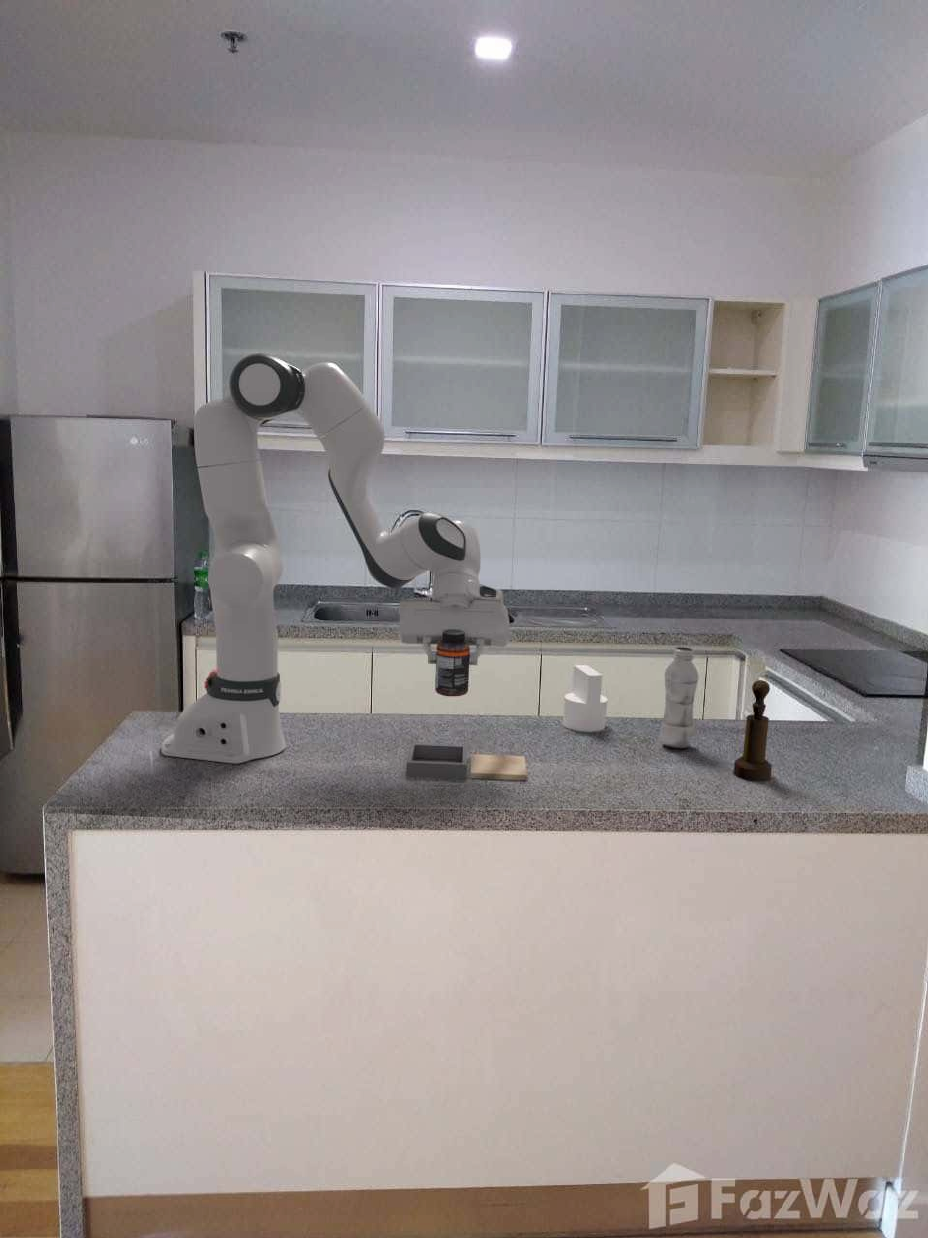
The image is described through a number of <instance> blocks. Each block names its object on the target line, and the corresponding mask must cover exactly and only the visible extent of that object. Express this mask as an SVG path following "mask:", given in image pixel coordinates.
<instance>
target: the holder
mask: <svg viewBox="0 0 928 1238" xmlns="http://www.w3.org/2000/svg"><path fill="white" fill-rule="evenodd" d="M415 759H438V760H439V759H440V760H460V761H461V760H462V762H444V761H442V762H441V761H440V762H439V761H419V760H418V761H417V760H415ZM467 764H468V745H461V744H459V745H458V744H439V743H438V744H437V743H435V744H434V743H419V742H418V743H416V742H415V743H413V742H410V744H409V750H408V753H407V758H406V766H405V768H406V769H405V771H406V772H405V776H406V775H407V776H406V777H424V778H425V777H426V778H445V779H446V778H448V779H451V778H452V779H467V768H468V767H467V766H468V765H467Z"/></svg>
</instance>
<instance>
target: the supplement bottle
mask: <svg viewBox="0 0 928 1238" xmlns="http://www.w3.org/2000/svg"><path fill="white" fill-rule="evenodd" d="M442 638H443V639H442V640H441V642H440V643H438V645H436V651H437V652H436V664H435V677H434V679H435V680H434V682H435V685H434V687H435V689H434V690H435V692H436V693H437V694H439V695H441V696H444V697H450V698H451V697H462V696H465V695H467V693H468V692H469V683H470V682H469V677H470V665H469V658H470V651H471V646H469V645H468V644H467V643H466V642H465V640H464V639H465V632H464V631H462V630H456V629H447V630H444V631H443V635H442Z"/></svg>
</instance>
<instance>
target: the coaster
mask: <svg viewBox="0 0 928 1238" xmlns="http://www.w3.org/2000/svg"><path fill="white" fill-rule="evenodd" d="M469 761H470V765H469V766H470V769H469V773H470V774H469V775H470V777H469V778H470V779H482V780H483V779H484V780H508V781H528V773H527V763H526V760H525V756H524V755H523V756H521V755H503V754H502V755H501V754H499V755H498V754H479V753H471V754H470V760H469Z"/></svg>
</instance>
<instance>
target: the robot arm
mask: <svg viewBox="0 0 928 1238" xmlns="http://www.w3.org/2000/svg"><path fill="white" fill-rule="evenodd" d="M228 384H229V394H228V395H227V396H225V397H224V398H221V399H215V400H211V401H208V402H206V403H204V404H203V405H202V406H200V407H199V408H198V409H197V411H196V413H195V415H194V421H193V423H194V426H193V437H194V439H193V440H194V451H195V461H196V466H197V472H198V478H199V484H200V489H201V495H202V501H203V506H204V507H203V508H204V513H205V514H206V516H207V519H208V521H209V523H210V526H211V529H212V531H213V534H214V537H215V540H216V544H217V548H218V553H216V555H215V556H214V557H213V558H212V561H211V562H210V565H209V568H208V572H207V573H208V575H207V582H208V587H209V590H210V601H211V608H212V613H213V614H212V615H213V620H214V626H215V627H214V628H215V642H216V643H215V644H216V646H215V647H216V650H215V651H216V669H213V670H212V671H210V672H209V674H208V676H207V677H206V679H205V681H204V689H205V690H206V691H205V692H206V693H205V694H203V695H202V696H201V697H198V699H196V700H195V701H194V702H193V703H191V704H190V705H188V707H186V708H185V709H184V710H182V711H181V713H180V714H179V715H178V717H177V719H176V722H175V727H174V732H173V733H171V734H170V735H168V736H167V737H166V738H165V739H164V740H163V741H162V743H161V749H160V751H161V754H162V755H164V756H167V757H176V758H182V759H192V760H193V759H194V760H200V761H201V760H202V761H210V762H219V763H227V764H242V763H245V762H249V761H252V760H256V759H262V758H267V757H271V756H274V755H277V754H279V753H281V752H282V751H284V750H285V748H286V747H287V743H286V740H285V737H284V733H283V727H282V721H281V717H280V706H279V704H280V703H281V702H280V701H281V693H282V692H281V690H282V689H281V687H282V686H281V685H282V684H281V683H282V682H281V677H280V676H281V674H280V673H279V671H278V668H279V667H278V665H279V664H278V663H279V661H278V660H279V659H278V658H279V656H278V655H279V654H278V650H279V648H278V647H279V646H278V640H279V636H278V635H279V633H278V632H279V631H278V629H277V628H278V627H277V622H276V613H275V601H274V590H275V587H276V586H277V584H278V583H279V581H280V580H281V577H282V575H283V569H284V568H283V559H282V555H281V551H280V546H279V542H278V537H277V535H276V534H277V533H276V530H275V526H274V523H273V518H272V515H271V512H270V507H269V503H268V498H267V493H266V492H267V491H266V487H265V480H264V474H263V468H262V462H261V461H262V460H261V456H260V455H261V454H260V450H259V443H258V430H259V427H260V426H262V425H265V424H267V423H269V422H271V421H273V420H275V419H278V418H280V417H282V416H283V415H286V414H287V413H293V414H296V415H299V417H301V418H303V420H304V421H305V422H306V423H307V424H308V426H309V427H310V428H311V430H312V432H314V434H315V436H316V437H317V439H319V441H320V443H321V445H322V447H323V448H324V451H325V453H326V457H327V460H328V466H329V469H328V471H327V478H328V483H329V485H330V487H331V491H332V493H333V495H334V498H336V501H337V503H338V505H339V507H340V509H341V511H342V514H343V515H344V517H345V519H346V521H347V523H348V525H349V527H350V529H351V531H352V533H353V535H354V537H355V539H356V541H357V543H358V545H359V547H360V549H361V552H362V555H363V557H364V561H365V564H366V567H367V570H368V572H369V574H370V576H371V577H372V578H373V579H374V580H375V581H376V582H378V583H379V584H381V585H383V586H384V587H388V588H390V589H401V588H402V587H404V586H405V585H407V584H408V583H410V582H411V581H413V580H414V579H415V578H416V577H419V576H420V575H422V574H424V573H426V572H428V571H429V572H431V573H432V574H433V576H434V577H433V581H432V589H431V590H432V594H431V597H415V596H409V597H407V598H406V599H403V600H401V601H400V602H399V605H398V609H397V610H398V615H399V621H398V628H397V629H398V630H397V633H398V634H397V636H398V639H399V640H400V642H401V643H402V644H407V645H408V644H410V645H411V644H412V645H413V644H414V645H422V649H423V651H424V652H425V653H426V655H427V664H430V665H431V664H433V665H436V652H437V650H435V651H434V650H432V645H436V646H437V645H438V643H440V642H441V640H442V639H443V638H442V635H443V631H444V630H447V629H456V630H462V631H464V632H465V639H464V640H465V642H466V643H467V644H468V645H469V647H476V648H475V650H474V651H473V652H472V651H471V652H470V657H469V666H478V664H479V663H478V658H480V657H481V655H482V654H483V652H484V650H485V647H495V648H496V647H498V648H505V647H506V646H507V645H508V644H509V643H510V641H511V640H510V639H511V627H510V618H509V617H510V616H509V612H508V609H507V607H506V605H504V595H503V594H504V593H503V591H502V590H501V589H498V588H495V587H492V586H488V585H486V584H483V583H480V579H479V574H480V571H481V547H480V546H481V545H480V541H479V536H478V533H477V531H476V530H475V528H474V527H473V525H470V524H469V523H468V522H465V521H463V520H458V519H457V520H456V519H455V520H450V519H449V518H447V517H445V516H444V515H442V514H439V513H436V512H434V511H425V512H423V513H422V514H419V515H417V516H415V517H414V518H412V519H411V520H409V521H406V522H405V523H404V524H403V525H401V526H399V527H397V528H396V529H394V530H392V531H391V532H388V531H386V530H385V529H384V527H383V524H382V523H381V521H380V519H379V516H378V515H377V512H376V511H375V508H374V506H373V504H372V502H371V500H370V498H369V496H368V492H367V483H368V479H369V476H370V474H371V472H372V471H373V468H374V467H375V466H376V464H377V463H378V461H379V459H380V457H381V455H382V452H383V450H384V445H385V437H386V435H385V429H384V426H383V424H382V421H381V419H380V418H379V416H378V414H377V413H376V412H375V410H374V408H373V407H372V406H371V404H370V403H369V401H368V399H366V397H365V396H364V394H363V393H362V392H361V390H360V388H358V387H357V385H356V384H355V383H354V382H353V380H351V379H350V378H349V376H348V375H347V374H346V373H345V372H344V371H343V370H342V369H341V368H340V367H339V366H338V365H336V364H335V363H334V362H328V361H321V362H317V363H314V364H311V365H310V366H308V367H307V368H305V369H303V370H300V369H299V368H297V367H295V366H293V365H292V364H290V363H288V362H285V361H284V360H282V359H280V358H279V357H276V356H274V355H271V354H267V353H263V352H262V353H261V352H259V353H252V354H249V355H247V356H245V357H243V358H242V359H240V360H239V361H238V362H237V363H236V365H235V366H234V367H233V369H232V371H231V373H230V377H229V383H228Z"/></svg>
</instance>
